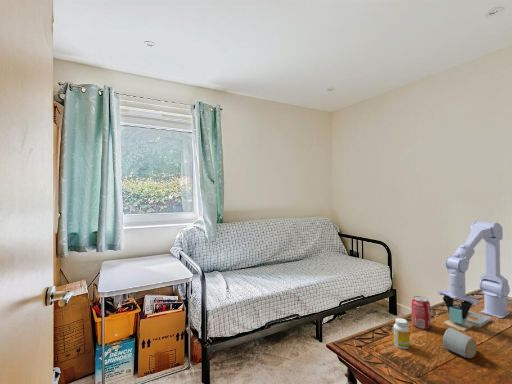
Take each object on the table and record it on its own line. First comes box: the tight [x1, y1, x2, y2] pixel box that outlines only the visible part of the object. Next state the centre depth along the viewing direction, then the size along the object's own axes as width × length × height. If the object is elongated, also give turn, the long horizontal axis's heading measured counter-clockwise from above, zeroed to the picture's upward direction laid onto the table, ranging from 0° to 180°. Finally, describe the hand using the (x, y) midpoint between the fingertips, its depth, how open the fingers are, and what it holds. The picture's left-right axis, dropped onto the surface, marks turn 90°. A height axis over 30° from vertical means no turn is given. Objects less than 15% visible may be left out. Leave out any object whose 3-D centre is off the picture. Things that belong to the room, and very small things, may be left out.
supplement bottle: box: [392, 317, 410, 350], centre depth 105 cm, size 5×5×10 cm
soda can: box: [411, 295, 432, 330], centre depth 119 cm, size 7×7×12 cm
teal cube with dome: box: [448, 303, 468, 324], centre depth 120 cm, size 5×5×6 cm
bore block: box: [466, 310, 492, 328], centre depth 124 cm, size 11×11×2 cm
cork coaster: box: [442, 319, 474, 332], centre depth 120 cm, size 8×8×1 cm
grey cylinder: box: [442, 327, 478, 359], centre depth 100 cm, size 11×8×8 cm
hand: (457, 315), depth 120 cm, fingers closed on teal cube with dome, 5 cm apart
